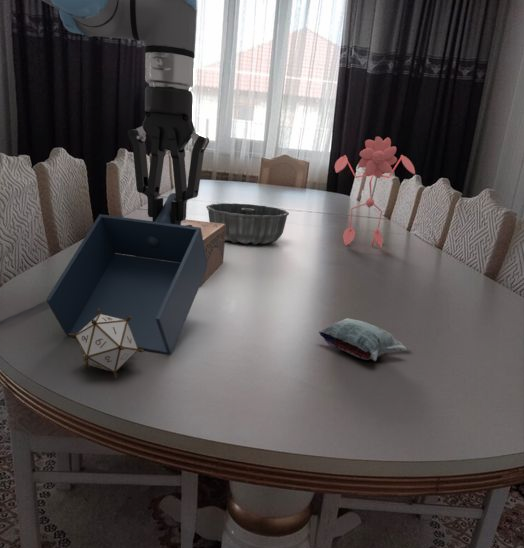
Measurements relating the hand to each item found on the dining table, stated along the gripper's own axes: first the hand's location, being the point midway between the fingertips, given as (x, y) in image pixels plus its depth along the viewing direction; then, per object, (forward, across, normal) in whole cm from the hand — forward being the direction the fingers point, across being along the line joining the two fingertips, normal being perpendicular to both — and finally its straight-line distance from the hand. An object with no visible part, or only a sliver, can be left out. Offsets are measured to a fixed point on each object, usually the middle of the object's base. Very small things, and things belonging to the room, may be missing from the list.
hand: (166, 237), depth 90 cm
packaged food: (+14, +36, -4) cm, 39 cm away
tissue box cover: (+14, -8, +31) cm, 35 cm away
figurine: (+14, +32, +93) cm, 100 cm away
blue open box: (+5, 0, -6) cm, 8 cm away
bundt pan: (+14, -6, +80) cm, 82 cm away
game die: (+8, +4, -30) cm, 32 cm away
